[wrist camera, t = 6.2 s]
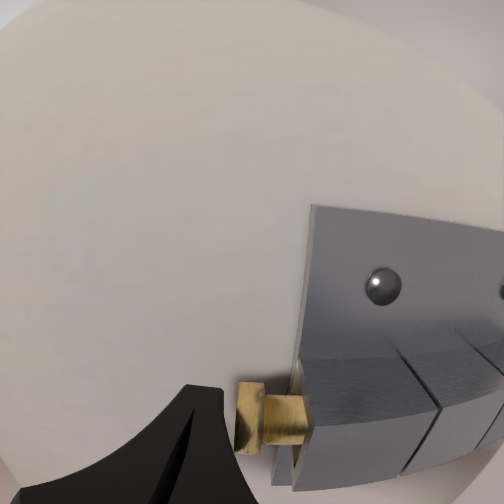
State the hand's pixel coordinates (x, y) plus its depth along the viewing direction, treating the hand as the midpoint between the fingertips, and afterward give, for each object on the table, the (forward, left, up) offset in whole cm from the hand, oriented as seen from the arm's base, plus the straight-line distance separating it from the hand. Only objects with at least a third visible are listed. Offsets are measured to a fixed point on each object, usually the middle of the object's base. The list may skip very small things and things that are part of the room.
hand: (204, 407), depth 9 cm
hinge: (0, -9, -2) cm, 9 cm away
